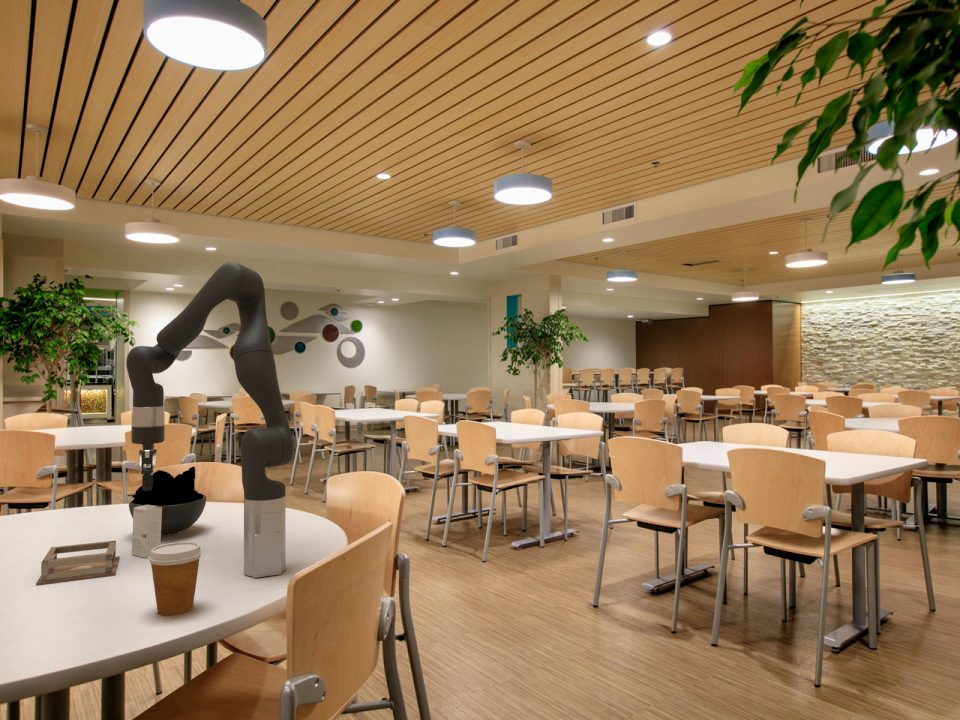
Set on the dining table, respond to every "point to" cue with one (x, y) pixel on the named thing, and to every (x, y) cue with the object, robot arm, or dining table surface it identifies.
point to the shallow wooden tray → (78, 560)
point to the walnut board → (81, 566)
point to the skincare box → (146, 529)
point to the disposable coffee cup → (175, 576)
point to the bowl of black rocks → (172, 500)
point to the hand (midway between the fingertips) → (147, 487)
